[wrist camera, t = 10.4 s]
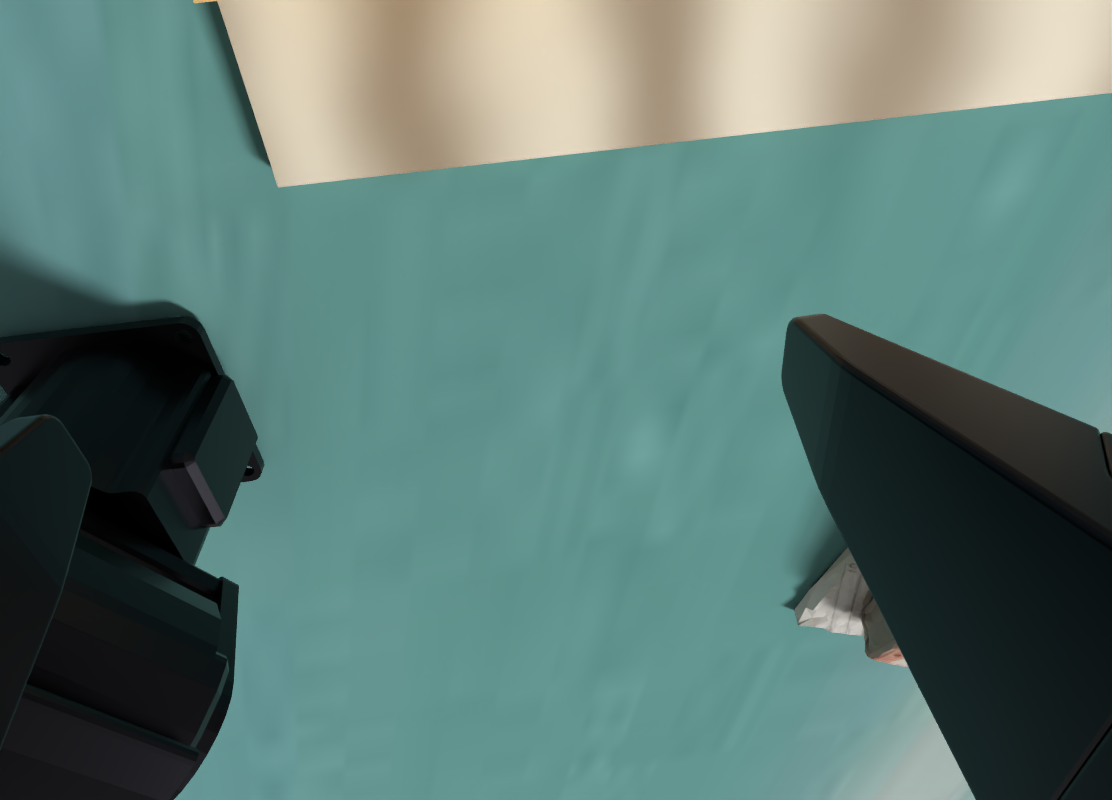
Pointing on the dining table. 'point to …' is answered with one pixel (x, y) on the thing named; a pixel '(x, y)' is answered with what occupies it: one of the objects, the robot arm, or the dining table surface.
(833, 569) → the packaged product
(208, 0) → the end holder
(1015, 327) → the dining table surface
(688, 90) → the board
